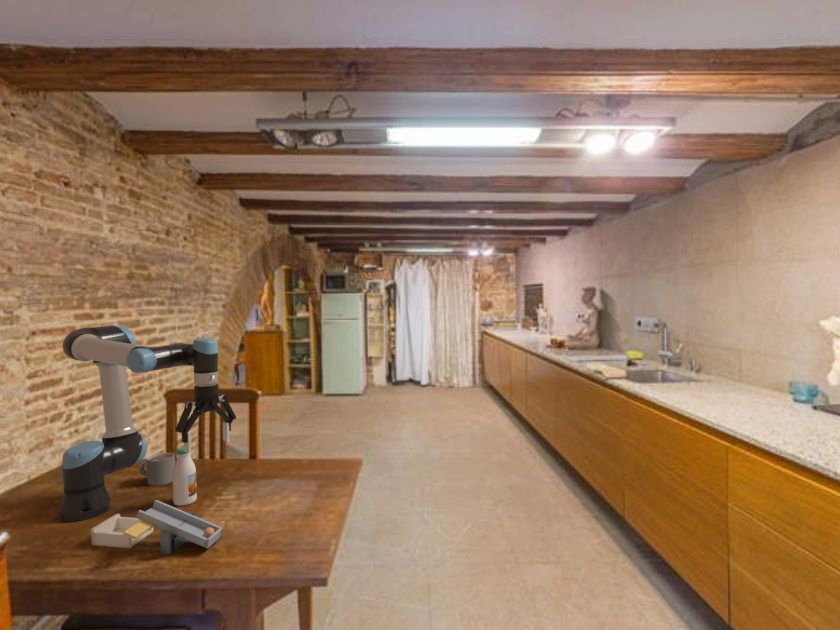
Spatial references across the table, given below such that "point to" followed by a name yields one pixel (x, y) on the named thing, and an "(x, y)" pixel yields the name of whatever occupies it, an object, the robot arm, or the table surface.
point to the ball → (208, 532)
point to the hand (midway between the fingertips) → (207, 446)
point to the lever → (174, 524)
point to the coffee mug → (159, 468)
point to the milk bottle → (184, 479)
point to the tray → (116, 532)
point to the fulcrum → (171, 540)
